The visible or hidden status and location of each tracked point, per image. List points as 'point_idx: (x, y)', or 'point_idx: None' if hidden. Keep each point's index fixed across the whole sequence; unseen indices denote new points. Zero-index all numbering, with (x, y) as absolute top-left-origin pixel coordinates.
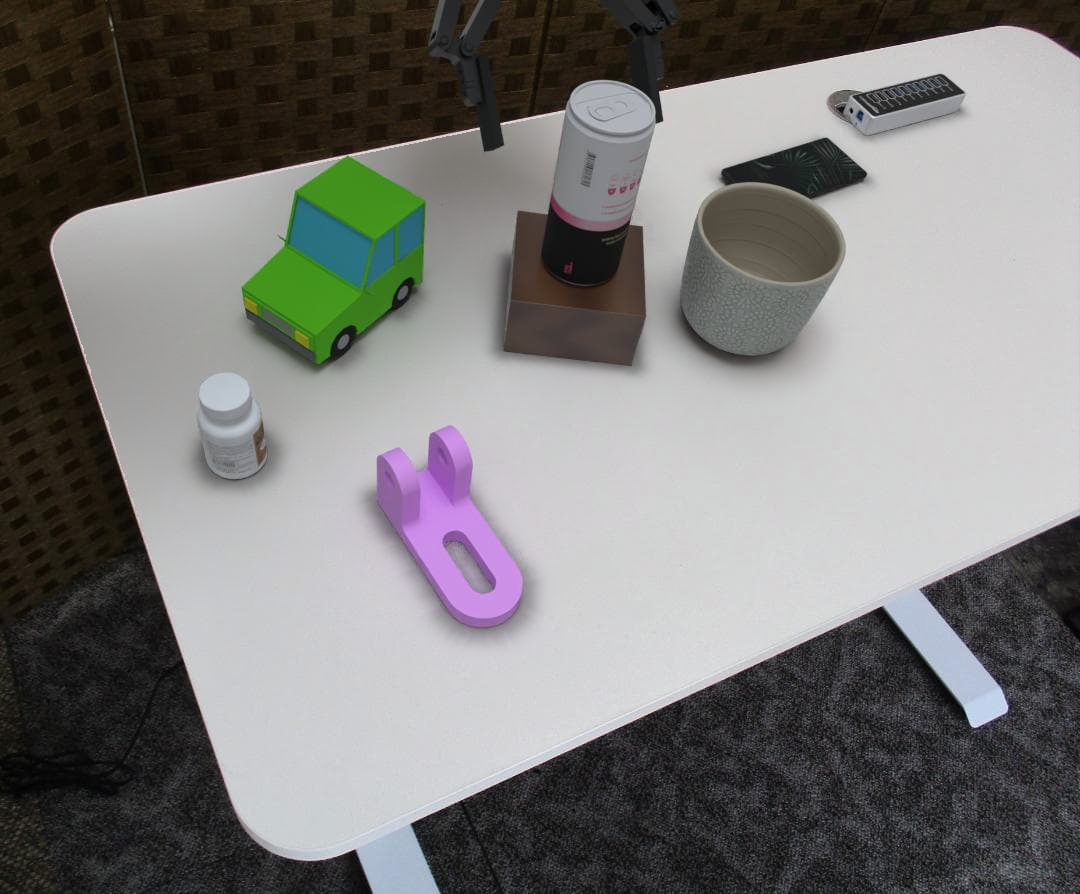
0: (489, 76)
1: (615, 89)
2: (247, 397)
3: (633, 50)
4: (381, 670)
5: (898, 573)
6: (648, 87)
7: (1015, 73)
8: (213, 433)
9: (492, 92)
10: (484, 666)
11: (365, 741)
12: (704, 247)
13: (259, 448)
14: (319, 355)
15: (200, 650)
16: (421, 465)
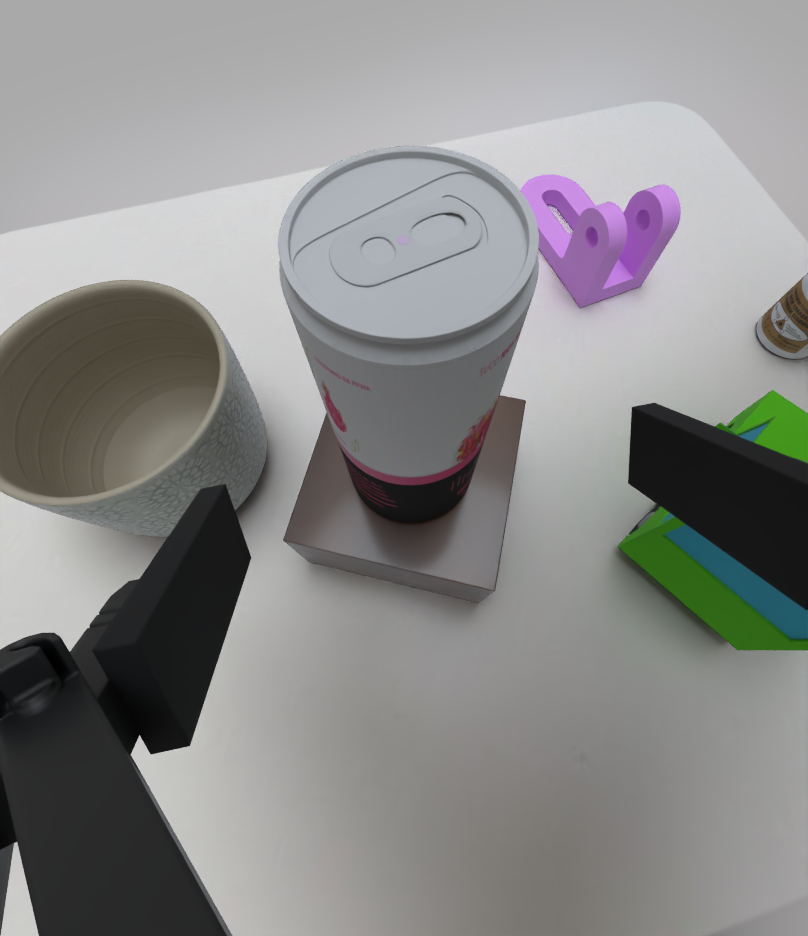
0: (774, 463)
1: (374, 310)
2: None
3: (183, 685)
4: (624, 172)
5: (194, 199)
6: (202, 537)
7: None
8: None
9: (731, 448)
10: (548, 169)
11: (631, 138)
12: (230, 364)
13: (780, 299)
14: (742, 412)
15: (760, 193)
16: (600, 316)
